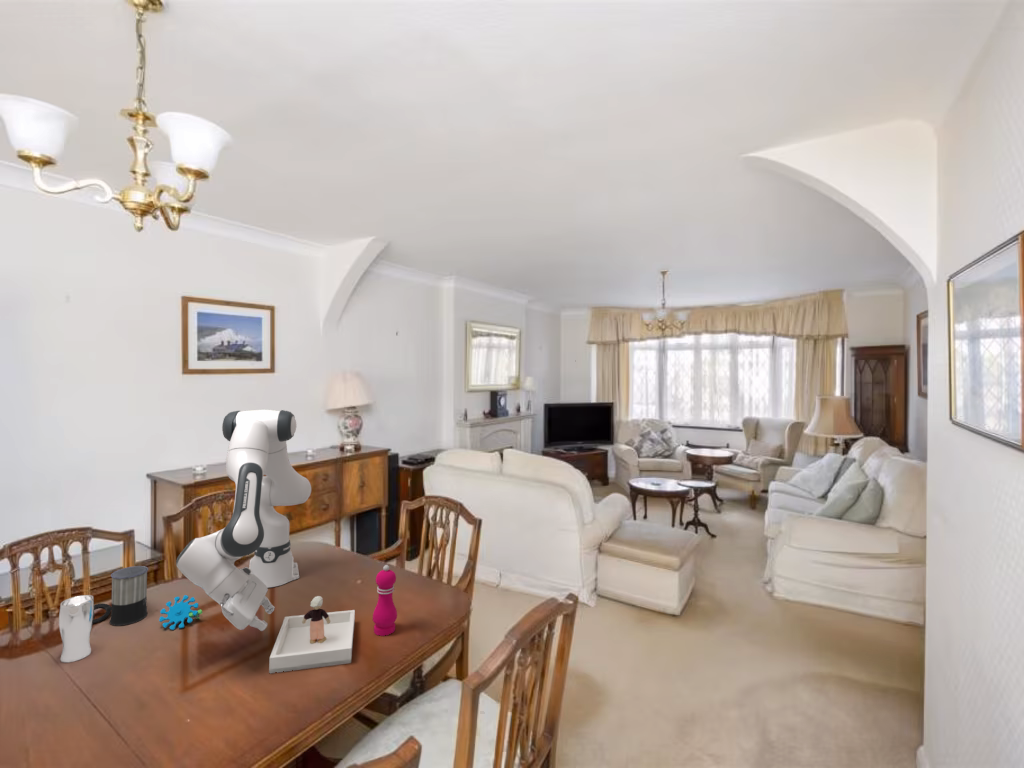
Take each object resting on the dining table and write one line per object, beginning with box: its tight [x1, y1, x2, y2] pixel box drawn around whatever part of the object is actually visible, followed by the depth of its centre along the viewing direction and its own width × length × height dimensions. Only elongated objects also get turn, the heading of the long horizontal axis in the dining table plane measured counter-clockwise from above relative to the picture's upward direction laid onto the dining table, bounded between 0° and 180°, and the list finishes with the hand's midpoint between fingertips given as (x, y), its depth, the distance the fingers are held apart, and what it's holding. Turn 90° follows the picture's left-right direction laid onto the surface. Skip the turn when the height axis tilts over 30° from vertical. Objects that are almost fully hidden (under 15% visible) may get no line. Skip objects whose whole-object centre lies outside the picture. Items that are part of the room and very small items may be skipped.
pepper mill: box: [372, 564, 398, 637], centre depth 145 cm, size 7×7×20 cm
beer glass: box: [58, 594, 95, 663], centre depth 128 cm, size 7×7×15 cm
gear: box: [158, 594, 203, 631], centre depth 147 cm, size 11×6×10 cm
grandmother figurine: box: [302, 595, 331, 644], centre depth 137 cm, size 8×4×13 cm, turn 109°
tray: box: [268, 609, 356, 674], centre depth 136 cm, size 22×20×4 cm
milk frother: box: [93, 565, 149, 627], centre depth 147 cm, size 14×16×15 cm
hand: (269, 619), depth 133 cm, fingers open, 8 cm apart
